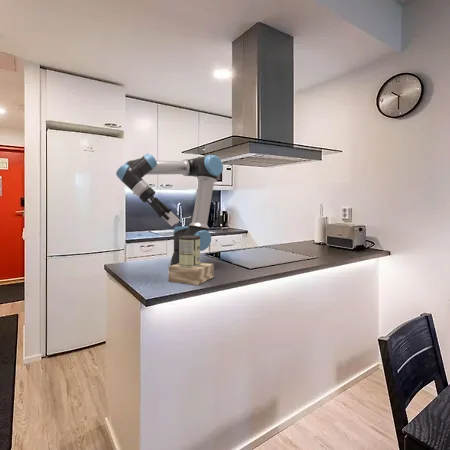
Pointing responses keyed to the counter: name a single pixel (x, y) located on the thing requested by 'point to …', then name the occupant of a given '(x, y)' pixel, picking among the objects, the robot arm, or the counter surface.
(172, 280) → the birch block
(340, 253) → the counter surface
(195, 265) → the coffee can
